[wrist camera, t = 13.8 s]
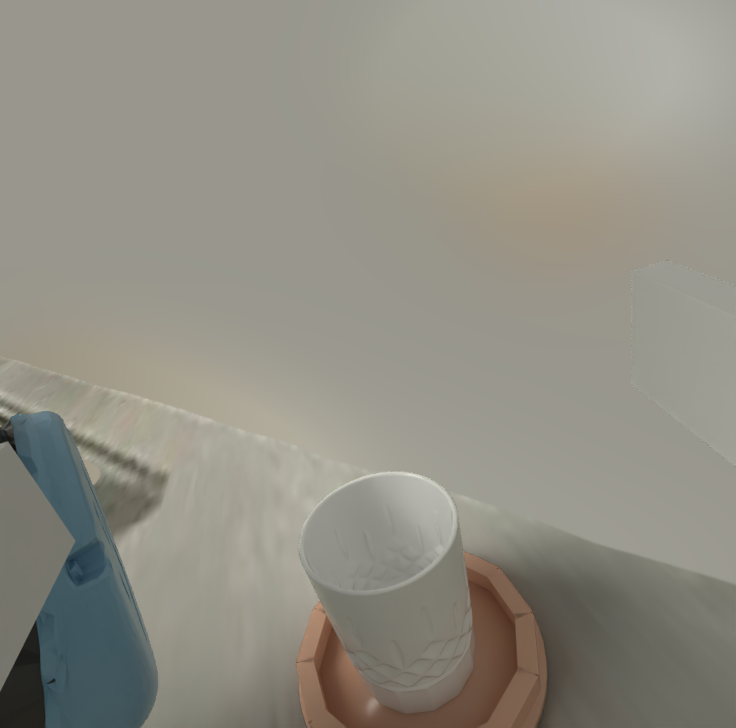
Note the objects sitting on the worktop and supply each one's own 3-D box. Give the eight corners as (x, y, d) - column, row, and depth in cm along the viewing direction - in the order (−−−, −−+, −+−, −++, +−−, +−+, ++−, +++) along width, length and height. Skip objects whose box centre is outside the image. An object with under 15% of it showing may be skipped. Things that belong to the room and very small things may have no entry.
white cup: (340, 618, 33) (293, 498, 28) (457, 577, 33) (429, 454, 29) (363, 751, 26) (305, 619, 21) (511, 696, 26) (485, 557, 22)
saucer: (267, 788, 26) (253, 768, 25) (336, 562, 38) (329, 542, 37) (563, 827, 22) (560, 803, 21) (536, 561, 34) (533, 539, 33)
